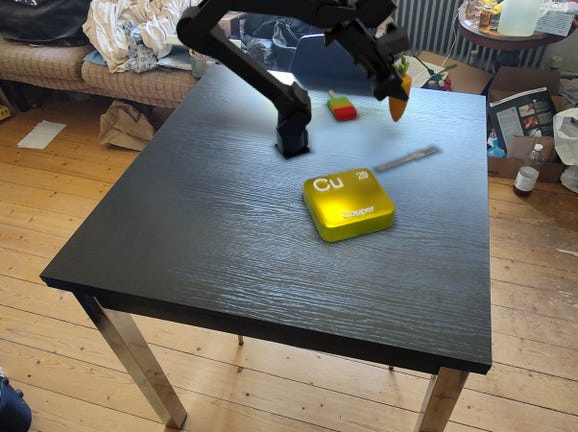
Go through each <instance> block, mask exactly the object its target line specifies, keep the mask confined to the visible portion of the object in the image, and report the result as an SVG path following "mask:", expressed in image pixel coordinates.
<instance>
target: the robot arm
mask: <svg viewBox="0 0 578 432" xmlns="http://www.w3.org/2000/svg"><path fill="white" fill-rule="evenodd" d="M398 9H399V6H398V4H397V2H396V1H395V0H201V1H200V2H199V3H197V5H190V6H187V7H186V8H185V9H184V10H183V11H182V13H181V15H180V18H179V19H178V21H177V23H176V26H175V33H176V38H177V40H178V41H179V43H181V44H182V45H183V46H185V47H187V48H188V49H190V50H192V51H194V52H196V53H198V54H199V55H202V56H206V57H210V58H213V59H215V60H216V61H218V62H219V63H221V64H222V65H223V66H225V67H226V68H227V69H228V70H230V71H231V72H232V73H234V74H235V75H236V76H237V77H239V78H240V79H241V80H243V81H244V83H247V84H248V85H249V86H250V87H252V89H255V90H256V92H258V93H260V95H262V96H263V97H265V98H266V99H267V100H268V101H270V102H271V103H272V105H273V106H274V108H275V110H276V111H277V119H276V120H277V122H276V124H277V125H276V126H275V133H276V134H275V135H276V143H275V144H274V147H275V149H276V150H277V151H278V153H280V155H281V156H282V157H283V158H284V160H289V159H290V160H291V159H293V158H296V157H299V156H302V155H305V154H308V153H311V148H310V147H308V146H309V143H310V142H309V130H308V129H307V126H308V125H309V124H311V122H312V119H313V113H312V111H313V110H312V100H311V97H310V95H309V91H308V90H307V89H304V88H303V87H302V86H300V84H299V83H298V82H297V81H295V80H293V81H292V83H291V84H287V83H284V82H283V81H281V80H280V79H279V78H277V77H276V76H274V75H273V74H272V73H271V72H270V71H268V69H266V68H265V67H264V66H262V64H260V63H258V62H257V61H256V60H255V59H254V58H253V57H252V56H251V55H249V54H247V53H246V52H245V51H244V50H243V49H242V48H240V47H239V46H238V45H236V44H235V43H234V42H233V41H232V40H230V39H229V38H228V37H227V35H226V33H225V32H224V31H223V29H222V28H221V27H222V26H220V24H219V22H220V21H222V19H223V18H224V17H225V16H226V15H227V14H228V13H229V12H237V13H246V14H255V15H264V16H272V17H273V16H274V17H280V18H281V17H282V18H290V19H294V20H297V21H299V22H301V23H303V24H305V25H307V26H310V27H314V28H317V29H321V30H322V33H323V43H324V48H325V47H326V48H328V47H329V46H330V45H331V44H332V43H334V42H335V43H336V44H337V45H338V46H339V47H340V48H341V49H342V50H343V51H344V52H345V53H346V54H347V55H348V56H349V57H350V58H351V62H352V64H353V65H354V66H359V68H360V69H362V71H363V72H364V75H365V77H366V78H368V80H370V79H371V78H372V77H374V79H373V80H372V81H371V84H370V85H371V86H370V89H371V94H372V96H373V97H374V99H376V100H377V101H378V102H379V103H380V102H383V101H384V100H386V98H389V97H392V98H395V99H399V100H402V101H407V100H408V101H409V100H410V95H409V96H408V95H407V93H406V91H405V90H404V88H403V86H402V83H403V79H402V76H401V73H400V70H399V71H398V70H397V69H396V68H395V67H392V64H395V56H396V55H398V54H401V53H403V52H408V51H409V50H411V49H412V45H411V41H410V38H409V35H408V32H407V29H406V28H405V26H402V25H401V24H399V25H397V24H396V23H395V22H394V21H392V20H391V21H390V22H388V23H386V24H385V28H384V32H382V35H380V36H379V37H377V35H376V34H374V33H369V31H367V29H368V30H369V29H370V30H374V29H375V30H377V29H378V28H379V27H380V26H381V25H382V24H384V22H385V21H387V19H389V18H390V17H391V16H392V15H393V14H394V13H395V12H396V11H397V10H398ZM357 19H358V20H359V21H360V22H359V21H358V20H357ZM361 23H362V24H363V25H362V24H361Z"/></svg>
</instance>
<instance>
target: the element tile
mask: <svg viewBox="0 0 578 432" xmlns="http://www.w3.org/2000/svg"><path fill="white" fill-rule="evenodd" d="M302 188H303V190H302V193H303V202H304V204H305V206H306V208H307V210H308V212H309V215H310V217H311V219H312V221H313V223H314V225H315V227H316V230H317V232H318V235H319V236H320V238H321V239H322V240H323V241H325V242H328V243H333V242H334V243H335V242H338V241H344V240H346V239H350V238H351V239H352V238H354V237H359V236H363V235H366V234H371V233H374V232H378V231H382V230H386V229H389V228H391V227H392V226H393V224H394V222H395V221H394V219H395V211H396V206H395V204H394V202H393V201H392V199H391V198H390V196H389V195H388V194H387V191H386V190H385V189H384V187H383V186H382V184H381V183H380V182H379V180H378V179H377V177H376V176H375V174H374V173H373V171H372V170H371V169H369V168H367V167H359V168H355V169H350V170H345V171H339V172H336V173H330V174H326V175H322V176H316V177H313V178H308V179H306V180H305V181H304V182H303V185H302Z"/></svg>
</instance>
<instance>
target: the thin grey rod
mask: <svg viewBox="0 0 578 432" xmlns="http://www.w3.org/2000/svg"><path fill="white" fill-rule="evenodd" d="M438 151H439V150H438V149H437V148H436V147H434V146H431V147H428V148H426V149H421V150H419V151H416V152H414V153H412V154H411V155H408V156H405V157H403V158H400V159H397V160H394V161H392V162H389V163H386V164H383V165H380V166H377V167H376V170H377V171H378V173H381V172H383V171H386V170H388V169H392V168H395V167H397V166H400V165H402V164H405V163H408V162H410V161H413V160H418V159H421V158H424V157H427V156H429V155H432V154H435V153H437V152H438Z"/></svg>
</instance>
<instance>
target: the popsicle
mask: <svg viewBox="0 0 578 432" xmlns="http://www.w3.org/2000/svg"><path fill="white" fill-rule="evenodd" d="M328 94H329V95H330V96H331V97H332V98H328V99H327V100H326V103H327V105H328V108H329V109H330V110H331V112H332V113H333V115H334V116H335V118H336V119H337V120H338V121H341V122H342V121H348V120H354V119H356V118H357V117H358V111H357V108H355V106H354V105H353V104H352V103H351V101H350V100H349V99H348V97H347V96H339V97H337V96H336V94H335V93H334V91H333V90H328Z"/></svg>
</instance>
